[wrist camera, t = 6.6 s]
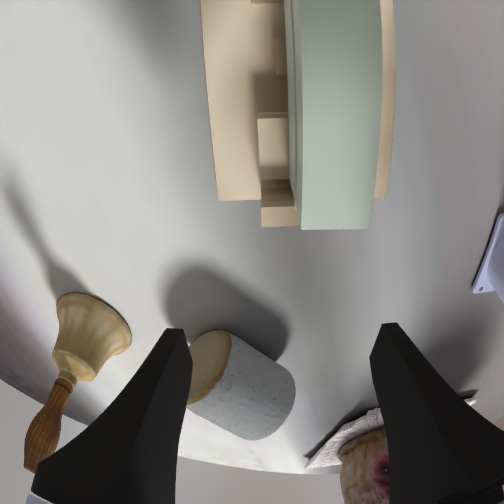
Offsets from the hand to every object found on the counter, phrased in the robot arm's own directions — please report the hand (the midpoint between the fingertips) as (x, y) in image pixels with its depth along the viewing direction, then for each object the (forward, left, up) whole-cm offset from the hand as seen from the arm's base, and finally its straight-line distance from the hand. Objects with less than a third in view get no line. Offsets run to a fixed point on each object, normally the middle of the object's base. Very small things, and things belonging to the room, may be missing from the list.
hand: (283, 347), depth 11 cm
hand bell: (+17, +10, -10) cm, 23 cm away
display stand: (-2, -10, -10) cm, 14 cm away
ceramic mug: (+5, +14, -10) cm, 18 cm away
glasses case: (-2, -10, -7) cm, 12 cm away
